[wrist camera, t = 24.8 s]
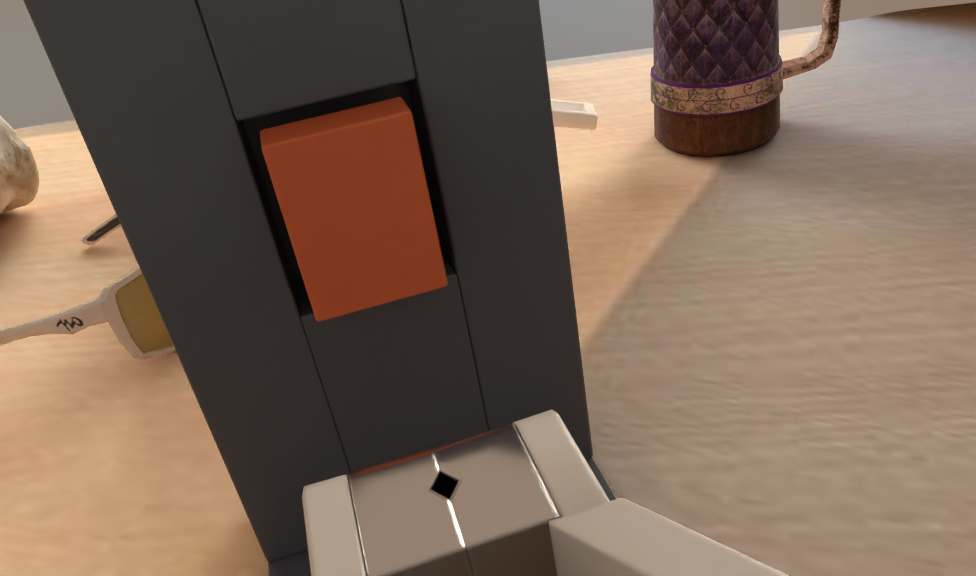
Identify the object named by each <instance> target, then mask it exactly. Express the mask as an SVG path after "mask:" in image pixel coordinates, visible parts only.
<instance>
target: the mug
mask: <svg viewBox="0 0 976 576" xmlns="http://www.w3.org/2000/svg"><path fill="white" fill-rule="evenodd" d="M840 7H841V0H824V6H823V21H822V32H821V36H820V39H819V42H818V46H817V48H816V49H814V50H813V51H812V52H810V53H809V54H808V55H806V56H804V57H800V58H796V59H792V60H788V61H784V62H782V59H781V56H780V55H779V28H778V27H779V26H778V0H653V32H654V34H653V36H654V66H653V67H652V68H651V101H652V102H653V103H654V127H655V137H656V138H657V140H658V141H659V142H660V143H661V144H663V145H664V146H665V147H667V148H669V149H671V150H673V151H675V152H679V153H684V154H689V155H699V156H717V155H729V154H734V153H739V152H745V151H748V150H750V149H753V148H756V147H759V146H761V145H762V144H764V143H765V142H767V141H768V140H770V139H771V138H772V137H773V136H774V135H776V133H777V131H778V130H779V128H780V93H781V92H782V90H783V79H786V78H789V77H792V76H795V75H798V74H801V73H804V72H807V71H810V70H813V69H816V68H817V67H818V66H820V65H821V64H823V63H824V62H826V61H827V60H829V59H830V58H831V57H832V54H833V51H834V48H835V45H836V43H837V40H838V34H839V20H840Z"/></svg>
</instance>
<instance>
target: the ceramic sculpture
mask: <svg viewBox="0 0 976 576" xmlns="http://www.w3.org/2000/svg"><path fill="white" fill-rule="evenodd" d="M38 187H39V172H38V169H37V166H36V163H35V160H34V157H33V155H32V152H31V149H30V148H29V147H28V146H27V145H26V144H25V143H24V142H23V141H22V140H21V138H20V137H19V136H18V135H17V133H16V132H15V131H14V130H13V128H12V127H11V126H10V125H9V124H8V123H7V122H6V121H5V120H4V119H3V118H2V117H1V116H0V213H1V212H7V211H11V210H13V209H15V208H18V207H21V206H24V205H27V204H29V203H30V202H31V201H33V200H34V198H35V196H36V194H37V191H38Z"/></svg>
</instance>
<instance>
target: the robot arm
mask: <svg viewBox="0 0 976 576" xmlns="http://www.w3.org/2000/svg"><path fill="white" fill-rule="evenodd" d="M302 501H303V510H304V518H305V527H306V535H307V544H308V552H309V561H310V569H311V576H789V575H787V574H785V573H783V572H781V571H779V570H776V569H774V568H772V567H770V566H768V565H766V564H764V563H761V562H759V561H757V560H755V559H753V558H751V557H749V556H746V555H744V554H742V553H740V552H738V551H736V550H734V549H732V548H729V547H727V546H725V545H723V544H721V543H719V542H717V541H714V540H712V539H710V538H708V537H706V536H704V535H702V534H700V533H697V532H695V531H693V530H691V529H689V528H687V527H685V526H682V525H680V524H678V523H676V522H674V521H672V520H670V519H667V518H665V517H663V516H661V515H659V514H657V513H655V512H653V511H650V510H648V509H646V508H644V507H642V506H640V505H638V504H635V503H633V502H631V501H629V500H627V499H625V498H623V497H622V498H619V499H615V500H612V501H610V500H609V499H608V497H607V495H606V494H605V492H604V490H603V488H602V487H601V485H600V483H599V482H598V480H597V478H596V477H595V475H594V473H593V472H592V470H591V468H590V466H589V465H588V463H587V461H586V460H585V458H584V456H583V455H582V453H581V451H580V450H579V448H578V446H577V445H576V443H575V441H574V439H573V438H572V436H571V434H570V433H569V431H568V429H567V428H566V426H565V424H564V423H563V421H562V419H561V417H560V416H559V414H558V413H557V412H555V411H554V410H549V411H546V412H543V413H540V414H537V415H534V416H531V417H528V418H525V419H522V420H519V421H516V422H513V424H509V425H506V426H503V427H500V428H496V429H493V430H490V431H487V432H484V433H481V434H478V435H474V436H471V437H468V438H465V439H462V440H459V441H455V442H452V443H449V444H446V445H443V446H440V447H437V448H433V449H430V450H426V451H423V452H419V453H416V454H412V455H409V456H405V457H402V458H398V459H395V460H391V461H388V462H384V463H381V464H377V465H374V466H370V467H367V468H363V469H360V470H356V471H353V472H349V473H348V475H342V476H338V477H335V478H331V479H328V480H324V481H321V482H317V483H314V484H310V485H307V486H304V488H303V494H302Z"/></svg>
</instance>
